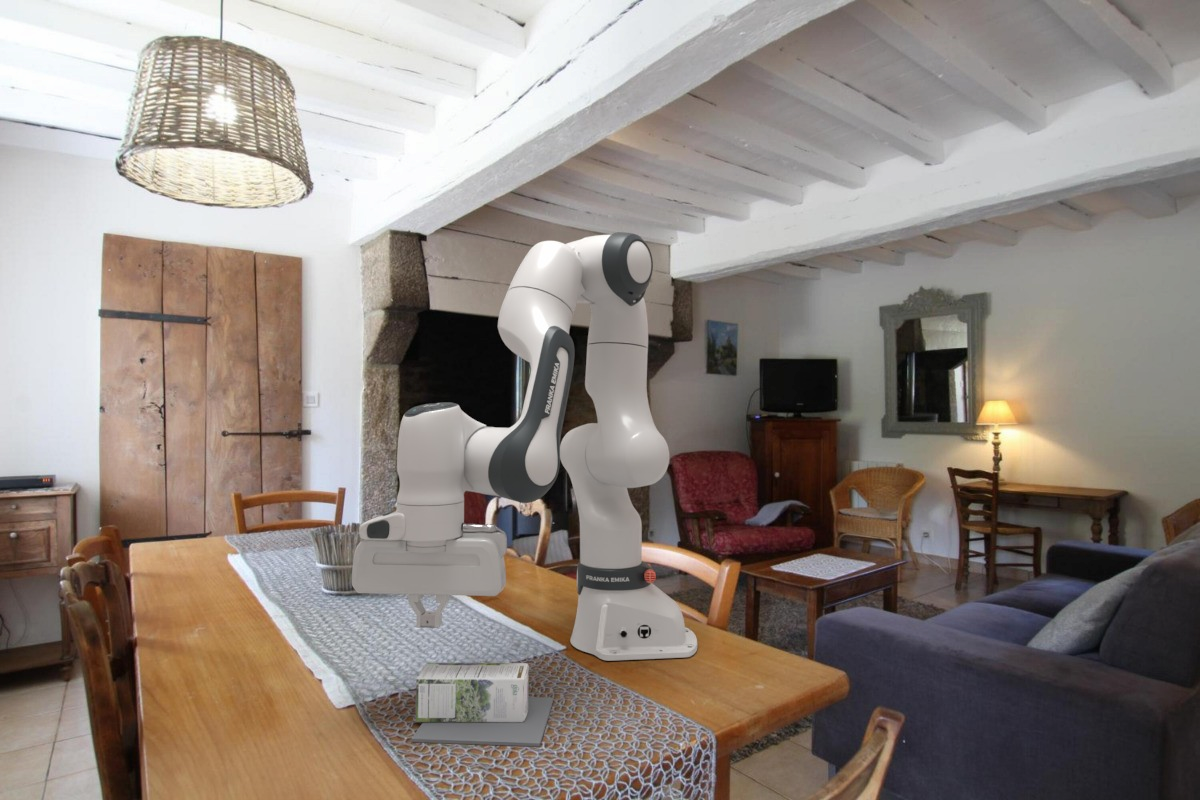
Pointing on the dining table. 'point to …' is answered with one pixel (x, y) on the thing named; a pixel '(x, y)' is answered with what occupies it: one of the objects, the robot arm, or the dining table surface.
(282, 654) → the dining table surface
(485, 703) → the syrup box
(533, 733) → the felt mat
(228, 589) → the dining table surface
